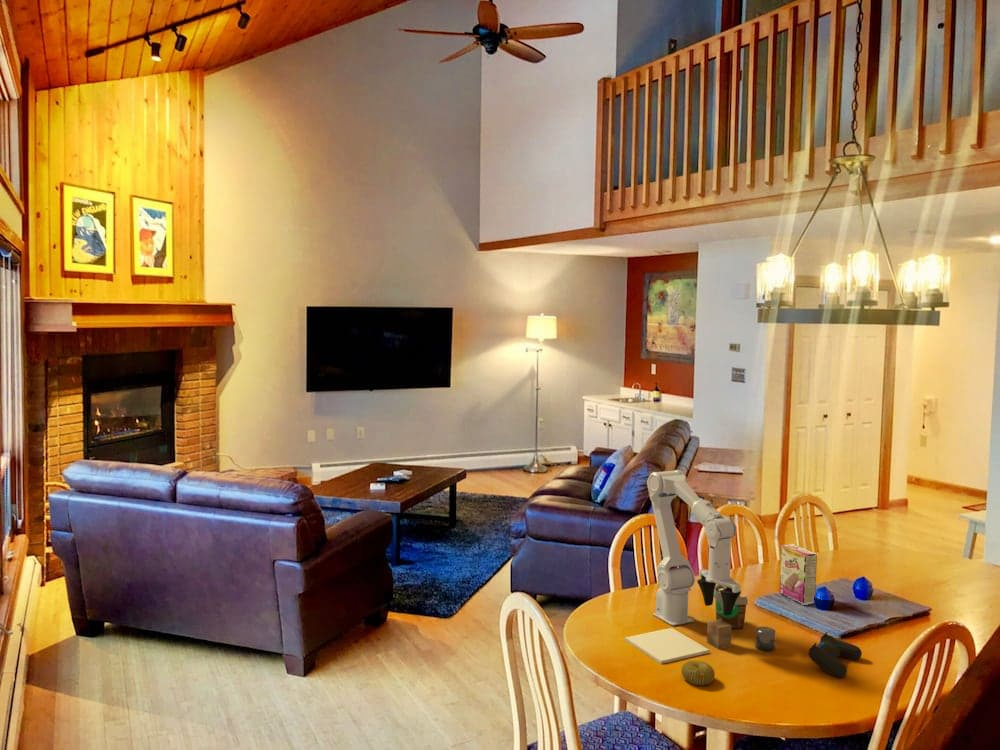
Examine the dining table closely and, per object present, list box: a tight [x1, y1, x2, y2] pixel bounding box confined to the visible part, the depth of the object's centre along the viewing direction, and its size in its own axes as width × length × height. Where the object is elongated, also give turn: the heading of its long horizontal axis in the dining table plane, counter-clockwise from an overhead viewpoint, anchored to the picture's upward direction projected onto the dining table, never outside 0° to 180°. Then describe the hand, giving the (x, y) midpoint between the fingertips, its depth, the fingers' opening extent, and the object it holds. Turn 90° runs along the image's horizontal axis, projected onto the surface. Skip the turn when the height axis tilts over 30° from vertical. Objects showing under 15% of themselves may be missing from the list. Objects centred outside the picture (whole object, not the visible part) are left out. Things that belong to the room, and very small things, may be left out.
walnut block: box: [706, 619, 732, 650], centre depth 217 cm, size 4×4×6 cm
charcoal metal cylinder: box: [754, 626, 776, 653], centre depth 215 cm, size 5×5×5 cm
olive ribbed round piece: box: [681, 660, 715, 686], centre depth 196 cm, size 8×4×8 cm
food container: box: [713, 584, 749, 631], centre depth 231 cm, size 12×6×10 cm, turn 21°
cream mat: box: [624, 627, 710, 665], centre depth 216 cm, size 16×16×1 cm
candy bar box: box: [779, 543, 818, 603], centre depth 251 cm, size 11×5×16 cm, turn 22°
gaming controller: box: [808, 631, 863, 679], centre depth 206 cm, size 17×6×10 cm
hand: (718, 609), depth 217 cm, fingers open, 7 cm apart
